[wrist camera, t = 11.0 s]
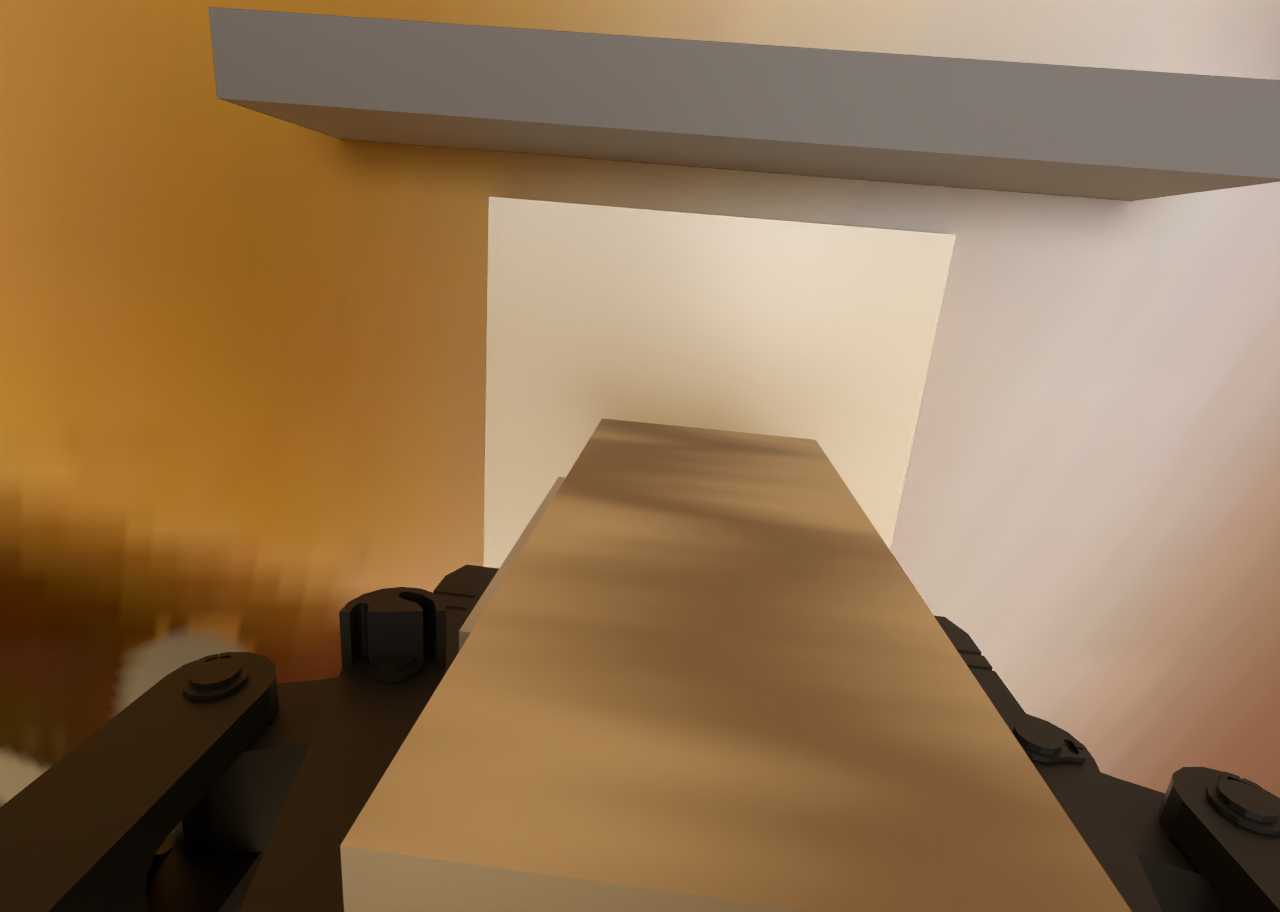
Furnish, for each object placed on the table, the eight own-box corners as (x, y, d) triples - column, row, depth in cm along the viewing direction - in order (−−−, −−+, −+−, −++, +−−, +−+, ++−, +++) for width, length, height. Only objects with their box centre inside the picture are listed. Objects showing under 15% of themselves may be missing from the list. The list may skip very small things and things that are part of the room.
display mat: (490, 591, 27) (482, 604, 26) (497, 199, 23) (488, 196, 22) (863, 634, 26) (869, 648, 25) (944, 235, 22) (956, 235, 21)
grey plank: (338, 138, 22) (217, 98, 17) (335, 72, 22) (208, 6, 16) (1130, 200, 21) (1292, 179, 15) (1149, 132, 21) (1325, 83, 15)
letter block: (588, 613, 17) (368, 1326, 6) (601, 418, 16) (341, 845, 4) (783, 636, 17) (967, 1434, 5) (815, 439, 15) (1164, 961, 4)
